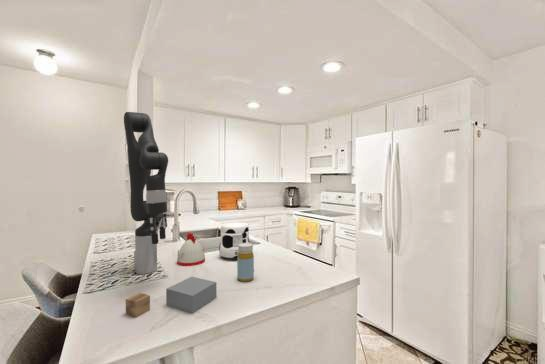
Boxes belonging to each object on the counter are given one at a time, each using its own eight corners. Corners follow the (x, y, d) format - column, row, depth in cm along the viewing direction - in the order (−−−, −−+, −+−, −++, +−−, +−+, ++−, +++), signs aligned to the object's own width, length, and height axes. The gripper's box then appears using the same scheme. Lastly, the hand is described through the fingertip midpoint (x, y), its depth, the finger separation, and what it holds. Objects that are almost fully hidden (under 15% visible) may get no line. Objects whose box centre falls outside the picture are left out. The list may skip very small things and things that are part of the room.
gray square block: (166, 306, 87) (166, 288, 87) (191, 291, 98) (191, 276, 97) (192, 314, 82) (192, 295, 81) (216, 298, 92) (216, 282, 92)
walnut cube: (125, 314, 81) (125, 298, 81) (139, 307, 86) (139, 292, 86) (136, 317, 79) (136, 302, 79) (150, 310, 84) (149, 295, 84)
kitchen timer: (196, 256, 142) (196, 229, 142) (209, 261, 133) (209, 233, 133) (172, 261, 132) (172, 233, 132) (185, 268, 123) (184, 237, 123)
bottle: (234, 279, 109) (234, 244, 109) (246, 274, 114) (246, 241, 114) (244, 283, 104) (244, 247, 104) (257, 278, 109) (256, 244, 109)
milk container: (232, 250, 153) (232, 220, 153) (256, 254, 144) (256, 223, 144) (212, 258, 138) (212, 225, 138) (237, 263, 129) (237, 228, 129)
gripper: (153, 200, 109) (156, 238, 109) (139, 203, 95) (142, 246, 95) (171, 199, 110) (173, 236, 110) (160, 202, 95) (162, 244, 95)
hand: (159, 241), depth 102 cm, fingers open, 8 cm apart
